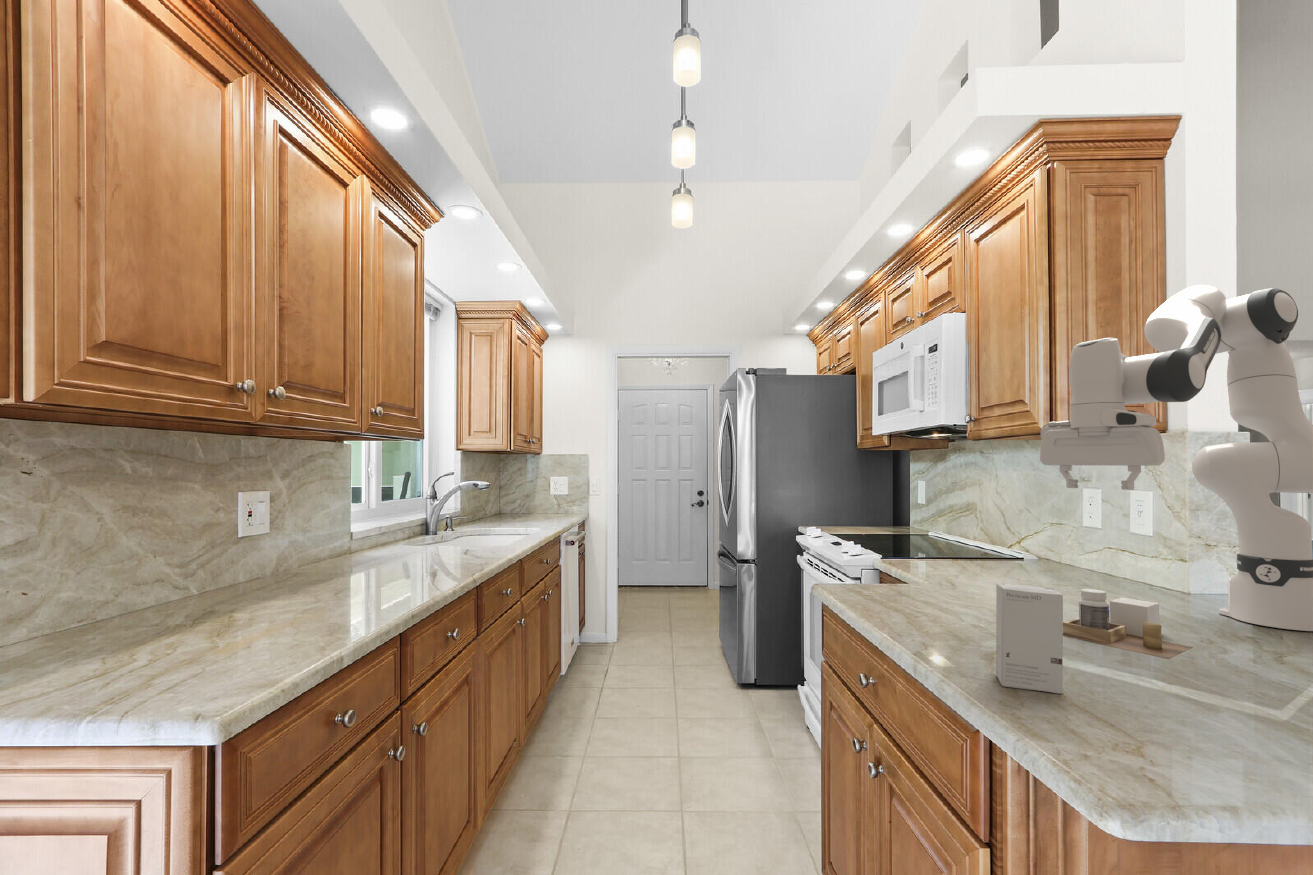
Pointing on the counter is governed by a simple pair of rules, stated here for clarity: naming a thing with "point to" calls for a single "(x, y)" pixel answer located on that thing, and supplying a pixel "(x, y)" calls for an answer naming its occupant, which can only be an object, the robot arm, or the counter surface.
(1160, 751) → the counter surface
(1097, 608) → the pill bottle
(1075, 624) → the board
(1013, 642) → the skincare box
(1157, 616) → the block
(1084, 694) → the counter surface
